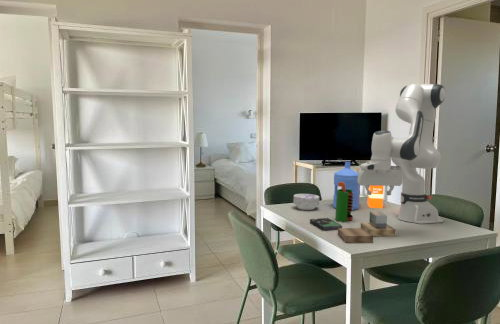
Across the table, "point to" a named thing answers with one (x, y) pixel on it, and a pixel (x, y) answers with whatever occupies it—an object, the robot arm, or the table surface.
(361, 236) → the stand
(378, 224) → the block
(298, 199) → the paper bowls
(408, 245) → the table surface
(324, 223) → the disk drive
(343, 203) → the motor
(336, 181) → the water jug
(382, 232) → the stand
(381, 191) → the orange juice
